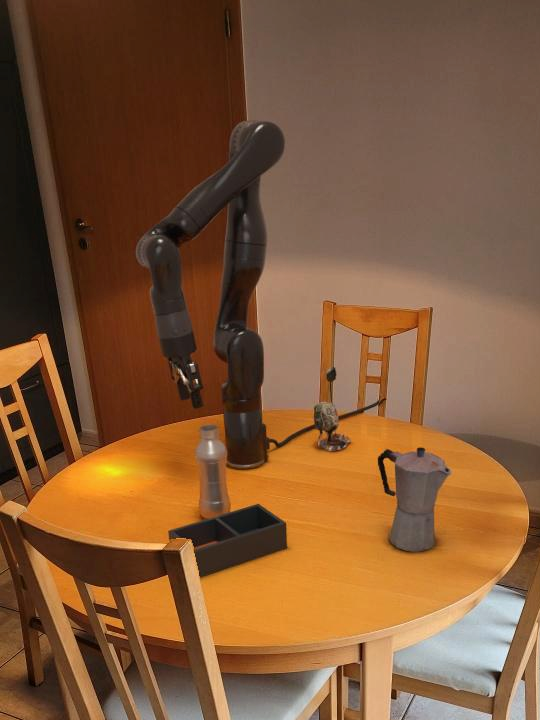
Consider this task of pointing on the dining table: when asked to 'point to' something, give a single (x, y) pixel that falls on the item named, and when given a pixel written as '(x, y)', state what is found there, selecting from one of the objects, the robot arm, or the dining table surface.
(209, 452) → the plastic bottle
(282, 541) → the compartment box
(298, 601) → the dining table surface
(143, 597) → the dining table surface
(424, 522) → the moka pot
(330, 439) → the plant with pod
